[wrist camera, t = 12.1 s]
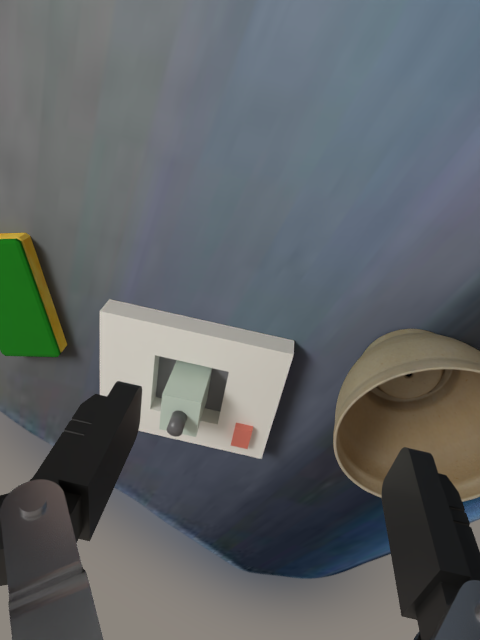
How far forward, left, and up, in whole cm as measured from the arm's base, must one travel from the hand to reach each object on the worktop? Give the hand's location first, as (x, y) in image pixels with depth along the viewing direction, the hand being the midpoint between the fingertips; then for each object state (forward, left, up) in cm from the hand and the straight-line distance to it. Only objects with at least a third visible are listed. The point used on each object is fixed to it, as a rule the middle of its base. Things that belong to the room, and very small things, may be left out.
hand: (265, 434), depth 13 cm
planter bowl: (-16, +15, -28) cm, 36 cm away
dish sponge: (+26, +17, -29) cm, 42 cm away
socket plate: (+6, +23, -28) cm, 37 cm away
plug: (+6, +23, -28) cm, 36 cm away
